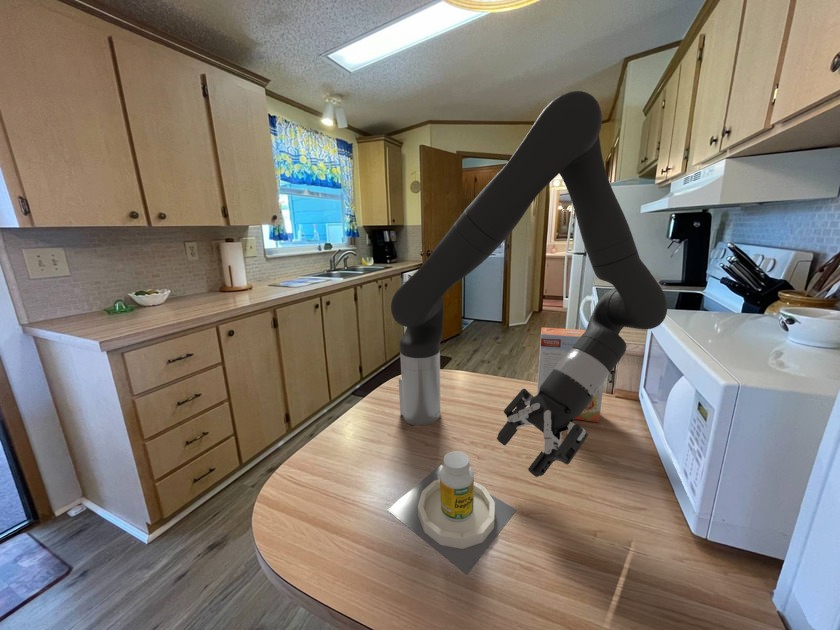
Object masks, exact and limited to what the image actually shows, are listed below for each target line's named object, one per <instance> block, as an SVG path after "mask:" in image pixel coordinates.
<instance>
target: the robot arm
mask: <svg viewBox="0 0 840 630" xmlns="http://www.w3.org/2000/svg"><path fill="white" fill-rule="evenodd" d="M602 115H603V114H602V109H601V106H600V104H599V102H598V100H597V99H596V98H595V97H594V96H593V95H592V94H590V93H588V92H585V91H583V90H582V91H581V90H574V91H572V90H571V91H568V92H566V93H565V92H564V94H563V93H562V94H561V95H559V96H557V97H555V98H554V99H553V100H552V101H550V102H549V103H548V104H547V106H545V108H543V109H542V111H541V112H540V114H539V116H538V117H537V119H536V120H535V121H534V123H533V125H532V126H531V128H530V130H529V131H528V133H527V134H526V135H525V137H524V138H523V140H522V142H521V143H519V146H518V147H517V148H516V150H515V152H514V153H513V154H512V156H511V157H510V159H509V160H508V161H507V163H506V164H505V165H504V166H503V168H501V169H500V171H499V172H497V174H495V176H494V177H493V178H492V179H491V180H490V181H489V182H488V184H486V186H484V187H483V189H482V190H481V191H480V192H479V193H478V195H477V196H476V197H475V198H474V199H473V200H472V201H471V203H470V204H469V205H468V206H467V207H466V208H465V209H464V210H463V212H462V213H461V214H460V215H459V217H458V218H457V219H456V221H454V222H453V224H452V226H451V227H450V229H449V230H448V232H447V233H446V234H445V235H444V236H443V237H442V239H441V240H440V241H439V242H438V244H437V245H436V246H435V248H434V250H433V251H432V252H431V253H430V255H429V257H427V259H426V260H425V261H424V263H423V264H422V265H421V266H420V267H419V268H418V269H417V270H416V272H414V274H412V275H411V277H409V278H408V279H407V280H406V281H405V282H404V283H403V284H402V285H401V286H400V287H399V288H398V289H397V290H396V291H395V293H394V294H393V297H392V299H391V302H390V303H391V304H390V310H391V314H392V315H391V316H392V318H393V319H394V321H395V322H396V323H397V324H399V325H400V326H403V327H405V328H406V329H405V331H404V333H403V335H402V337H401V338H400V340H399V355H400V358H399V359H400V374H401V376H400V377H401V378H399V379H398V392H399V394H398V395H399V412H400V413H399V414H400V415H401V416H402V418H403V420H404V421H405V422H406V423H407V424H409V425H412V426H415V425H416V426H417V425H419V426H425V425H431V424H433V423H435V422H437V420H439V418H441V354H440V353H441V351H440V350H441V348H440V347H441V342H442V339H443V333H444V300H443V296H444V295H445V294H446V293H447V292H448V291H449V290H450V289H451V288H452V287H453V286H454V285H456V284H457V283H459V282H460V281H461V280H463V278H465V277H466V276H468V275H469V274H470V273H472V272H473V271H474V270H475V269H476V268H478V267H480V266H481V264H483V262H485V261H486V260H487V259H488V258H490V256H491V255H492V254H494V252H495V251H496V250H497V249H498V248H499V246H501V245H502V243H503V242H504V241H505V240H506V239H507V238H508V236H509V235H510V234H511V233H512V231H513V230H514V229H515V228H516V226H517V225H518V224H519V222H520V221H521V219H522V218H523V217H524V215H525V214H526V212H527V210H528V209H529V207H530V206H531V205H532V203H533V202H534V200H535V199H536V198H537V196H538V195H539V194H540V193H541V192H542V191H543V190H544V189H545V188H546V187H547V186H548V185H549V184H550V183H551V182H552V181H553V180H554V179H555V178H556V177H558V175H560V177H561V179H562V181H563V183H564V186H565V187H566V190H567V192H568V194H569V198H570V200H571V203H572V206H573V210H574V213H575V217H576V221H577V224H578V225H577V226H578V229H579V233H580V236H581V239H582V243H583V245H584V249H585V251H586V254H587V256H588V259H589V262H590V266H591V267H592V271H593V272H594V274H595V276H596V277H597V279H599V280H601V281H603V282H607V283H609V284H611V285H612V286H613V287H614V288H613V289H610V290H608V291H607V292H605V293H604V294H603V295H602V296H601V297H600V298H599V299H598V302H597V303H596V305H595V306H594V309H593V311H592V314H591V316H590V317H589V321H588V323H587V326H586V328H585V330H586V331H585V332H584V334H583V335H582V336H581V337H580V339H579V340H578V341H577V342H576V344H575V345H574V346H573V348H572V349H571V350H570V351H569V352H568V353H567V354H566V355H565V356H564V357H563V358H562V359H561V360H560V362H559V363H558V364H557V365H556V367H555V368H554V369H553V371H552V372H551V373H550V374H549V376H548V377H547V378H546V380H545V381H544V382H543V383H542V385H541V386H540V391H539V393H538V394H537V393H536V395H535V396H534V395H533V394H532V393H531V392H529V391H528V390H527V389H526V388H522V389H521V390H520V391H519V393H518V394H516V396H515V397H514V398H513V399H512V400H511V402H509V404H508V405H507V406H506V407H505V409H504V410H503V414H504V415H505V416H506V418H507V421H506V423H505V424H504V426H503V427H502V428H501V430H499V432H498V434H497V437H496V440H497V441H498V442H499V443H500V444H501V445H503V446H507V444H508V443H509V442H510V441H511V440H512V438H513V437H514V435H515V434H516V433H517V432H518V429H519V428H522V427H525V426H533V427H535V428H536V429H538V430H539V431H540V432H541V433H543V439H544V449H543V451H542V450H541V452H539V453H538V455H536V458H535V459H534V460H533V462H532V463H531V464H530V465H529V467H528V472H529V473H530V474H531V475H532V476H534V478H538V477H542V476H543V475H545V474H546V472H547V471H548V470H549V468H550V467H551V466H552V464H553V463H554V462H556V461H557V462H561V463H563V464H565V465H569V464H570V463H571V462H572V460H573V459H574V457H575V456H576V454H577V453H578V451H579V450H580V448H581V447H582V446H583V444H584V442H585V441H586V439H587V438H588V436H589V433H588V431H586V430H585V428H583V426H581V425H580V424H579V423H577V424H576V423H574V421H575V420H576V419H575V418H576V417H578V416H580V414H581V413H582V412H583V410H584V409H585V408H586V406H587V405H588V404H589V403H590V401H591V400H592V399H593V397H594V396H595V395H596V393H597V392H598V391H599V389H600V388H601V387H602V385H603V384H604V383H605V382H606V381H607V380H606V379H607V378H608V376H609V375H610V374H611V373H612V372H613V370H614V368H615V367H616V366H617V365H618V363H619V362H620V361H621V359H622V358H623V356H624V355H625V353H626V351H627V343H626V342H625V339H624V338H623V337H622V336H620V332H621V331H622V330H623V329H624V328H629V329H635V330H652V329H656V328H657V327H659V326H660V325H661V324H662V323H663V322H664V321H665V319H666V316H667V313H668V302H667V301H668V300H667V297H666V295H665V293H664V290H663V289H662V287H661V286H660V284H659V282H658V281H657V280H656V278H655V277H654V275H653V274H652V273H651V271H650V269H648V268H649V267H647V266H646V265H645V263H644V262H643V261H642V259H641V258H640V255H639V252H638V249H637V246H636V242H635V239H634V236H633V233H632V232H631V228H630V226H629V222H628V220H627V218H626V216H625V213H624V212H623V210H622V208H621V205H620V202H619V201H618V199H617V196H616V195H615V192H614V190H613V188H612V185H611V182H610V180H609V178H608V174H607V170H606V167H605V164H604V159H603V153H602V148H601V147H602V146H601V140H600V138H601V137H600V132H601V129H602V124H603V116H602ZM603 386H604V385H603ZM527 406H528V407H527ZM566 431H567V432H566ZM564 432H566V433H567V435H566V436H565V437H564V439H563V440H562V433H564Z"/></svg>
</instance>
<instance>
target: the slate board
mask: <svg viewBox="0 0 840 630" xmlns="http://www.w3.org/2000/svg"><path fill="white" fill-rule="evenodd" d="M442 467H443V465H442V464H440V465H438V467H437V468H436V469H434V470H433V471H432V472H430V473H429V474H428V475H427V476H426V477H425V478H424V479H422V480H421V481H420V482H419V483H417V484H416V485H415V486H414V487H413V488H411V489H410V490H409V491H408V492H407V493H405V494H404V495H403V496H402V497H400V498H399V499H398V500H397V501H396V502H395V503H393V504H392V505H391V506H389V508H388V509H386V511H387V512H388V513H390V514H391V515H392V516H393V517H395V518H396V519H397V520H398V521H400V522H401V523H402V524H404V525H405V526H406V527H407V528H408V529H409V530H410V531H412V532H413V533H415V535H417V536H418V537H419V538H421V539H422V540H423V541H424V542H426V543H427V544H428V545H429V546H431V547H432V548H433V549H435V551H437V552H438V553H440V555H442V556H443V557H444V558H445V559H447V560H448V561H449V562H450V563H451V564H453V565H454V566H455V567H456V568H458V569H459V570H460V571H462V572H463V573H464V574H465V575H468V574H469V573H470V572H471V570H472V569H473V568H474V567H475V565H476V564H477V562H479V560H480V558H481V557H482V556H483V554H484V553H485V552H486V551H487V549H488V548H489V547H490V545H491V544H492V543H493V542H494V540H495V539H496V538H497V536H498V535H499V534H500V533H501V532H502V530H503V528H504V527H505V526H506V524H507V523H508V522H509V521H510V519H512V517H513V515H514V514H515V513H516V512H517V508H514V507H513V506H511V505H509V504H507V502H504V501H502V500H501V499H499V498H497V497H496V496H494V495H492V494H491V493H489V494H490V496H491V497H492V499H493V500H494V502H495V512H494V529H493V530H492V531H491V532H490V534H489V535H488V536H487V537H486V539H485V540H484V541H483V542H482V543H479V544H476V545H473V546H470V547H467V548H464V549H460V548H455V547H449V546H444V545H440V544H439V543H438V542H436V541H435V540H434V539H432V538H431V537H430V536H429V535H427V534H426V533H425V532H424V530H423V527H422V525H421V522H420V519H419V516H418V504H419V500H420V497H421V493H422V491H423V490H424V489H425V488H426V487H427V486H429V485H430V484H431V483H432V482H433V481H434V480H438V479H440V471H441V468H442Z"/></svg>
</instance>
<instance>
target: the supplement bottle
mask: <svg viewBox="0 0 840 630" xmlns="http://www.w3.org/2000/svg"><path fill="white" fill-rule="evenodd" d="M470 465H471V464H470V457H469V456H468V455H467V454H466V453H465V452H462V451H459V450H454V451H449V452H447V453H446V454H445V455H444V457H443V464H442V466H443V467H442V468H441V471H440V501H441V511H442V513H443V515H444V516H445V517H446V518H447V519H449V520H451V521H455V522H461V521H465V520H467V519H468V518H469V517H470V516H471V515H472V513H473V506H474V482H475V479H474V478H475V477H474V476H475V475H474V471H473V468H471V466H470Z"/></svg>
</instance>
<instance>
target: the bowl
mask: <svg viewBox="0 0 840 630" xmlns="http://www.w3.org/2000/svg"><path fill="white" fill-rule="evenodd" d="M490 494H491V493H489V491H488V490H487V488H486V487H485V486H483V485H481V484H480V483H477V482H476V481H474V506H473V513H472V515H471V516H470V517H469V518H468V519H467V520H465V521H461V522H455V521H451V520H449V519H447V518H446V517H445V516H444V515H443V513H442V511H441V501H440V479H438V480H434V481H433V482H432V483H431V484H430V485H429V486H427V487H426V488H425V489H424V490H423V491H422V493H421V497H420V500H419V504H418V516H419V519H420V522H421V525H422V527H423V530H424V532H425V533H426V534H427V535H429V536H430V537H431V538H432V539H434V540H435V541H436V542H438V543H439V544H440V545H444V546H449V547H455V548H460V549H464V548H467V547H470V546H473V545H476V544H479V543H482V542H483V541H484V540H485V539H486V537H487V536H488V535H489V534H490V532H491V531H492V530H493V529H494V512H495V502H494V500H493V499H492V497H491V496H490Z"/></svg>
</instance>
